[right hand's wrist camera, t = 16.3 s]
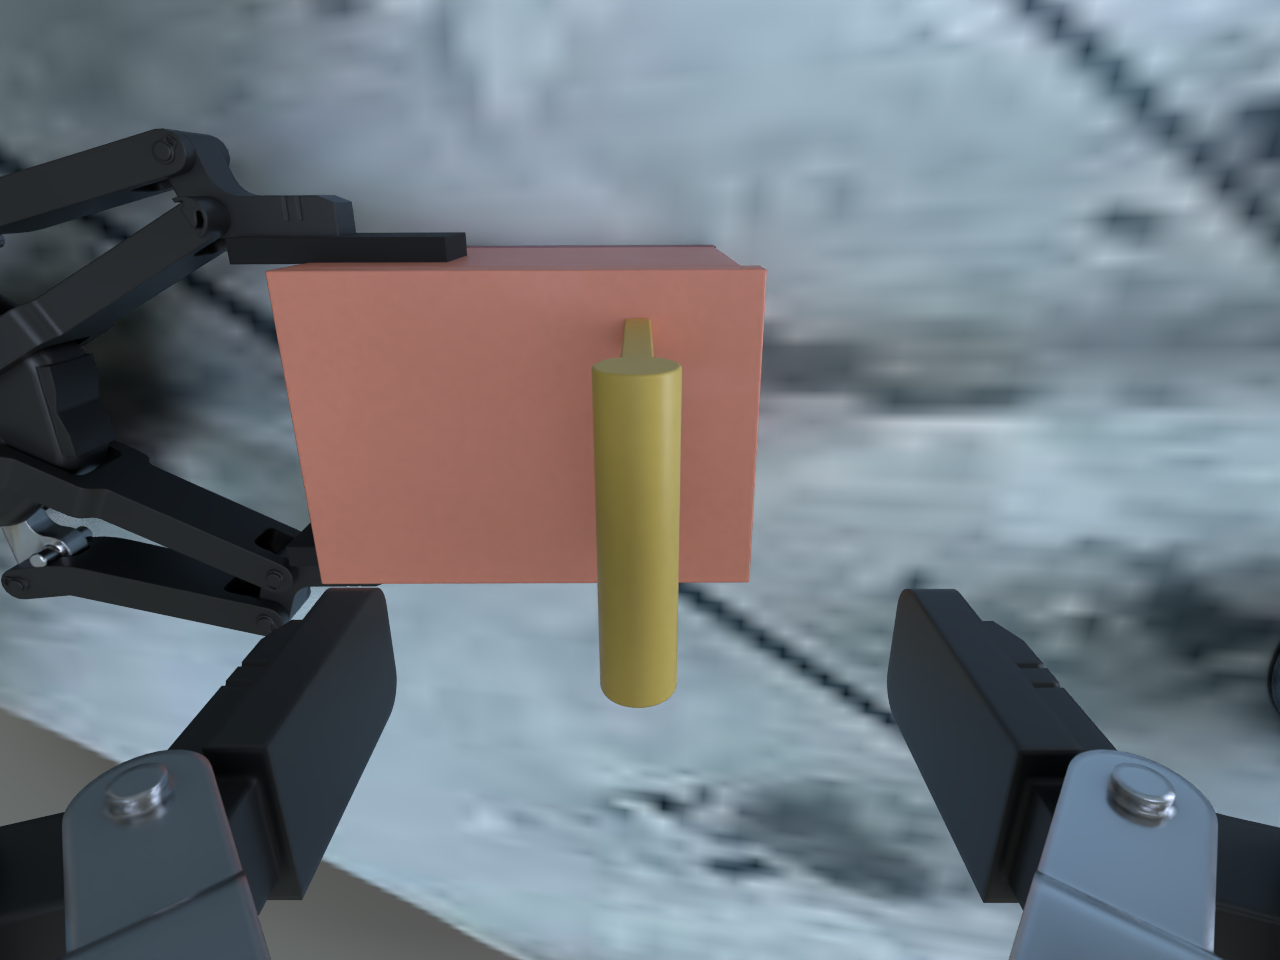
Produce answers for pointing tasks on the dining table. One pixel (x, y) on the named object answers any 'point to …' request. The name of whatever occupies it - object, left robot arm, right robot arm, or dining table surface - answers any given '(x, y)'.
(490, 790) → the dining table surface
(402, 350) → the block with yellow handle
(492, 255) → the chest
